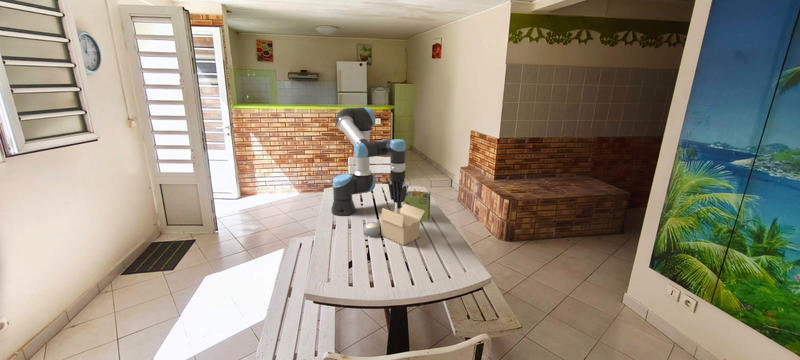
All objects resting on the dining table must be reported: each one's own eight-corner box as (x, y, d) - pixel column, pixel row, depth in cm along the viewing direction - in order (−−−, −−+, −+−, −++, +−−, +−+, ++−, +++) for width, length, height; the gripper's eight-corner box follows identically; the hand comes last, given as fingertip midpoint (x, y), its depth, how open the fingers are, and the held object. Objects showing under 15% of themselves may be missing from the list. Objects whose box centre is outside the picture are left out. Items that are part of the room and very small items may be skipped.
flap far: (419, 219, 183) (420, 220, 183) (425, 210, 185) (425, 211, 185) (398, 212, 192) (399, 212, 193) (404, 203, 194) (404, 203, 195)
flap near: (381, 218, 183) (381, 218, 182) (382, 208, 182) (382, 208, 181) (402, 227, 173) (402, 227, 173) (404, 216, 172) (403, 216, 172)
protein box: (428, 222, 204) (428, 197, 199) (402, 219, 207) (403, 195, 202) (430, 215, 214) (431, 191, 209) (405, 213, 217) (406, 190, 212)
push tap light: (360, 233, 189) (360, 225, 187) (372, 228, 195) (372, 220, 194) (371, 238, 183) (371, 230, 181) (383, 233, 189) (383, 225, 188)
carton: (380, 235, 186) (380, 218, 183) (396, 228, 196) (397, 211, 193) (404, 246, 176) (404, 228, 173) (420, 237, 185) (420, 220, 182)
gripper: (383, 169, 174) (383, 212, 181) (402, 174, 166) (401, 219, 173) (393, 166, 179) (393, 208, 186) (412, 171, 171) (411, 214, 178)
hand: (397, 213), depth 179 cm, fingers closed
